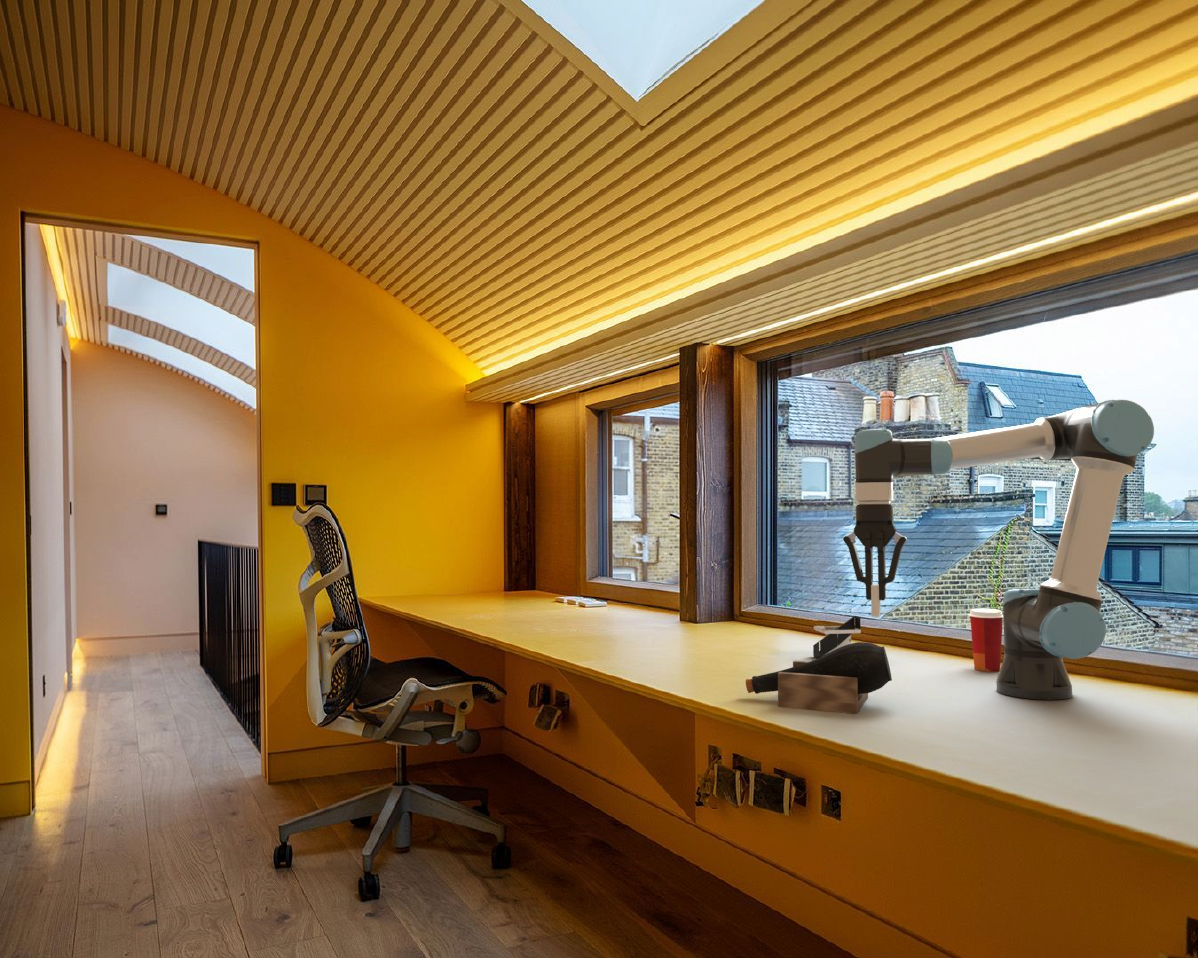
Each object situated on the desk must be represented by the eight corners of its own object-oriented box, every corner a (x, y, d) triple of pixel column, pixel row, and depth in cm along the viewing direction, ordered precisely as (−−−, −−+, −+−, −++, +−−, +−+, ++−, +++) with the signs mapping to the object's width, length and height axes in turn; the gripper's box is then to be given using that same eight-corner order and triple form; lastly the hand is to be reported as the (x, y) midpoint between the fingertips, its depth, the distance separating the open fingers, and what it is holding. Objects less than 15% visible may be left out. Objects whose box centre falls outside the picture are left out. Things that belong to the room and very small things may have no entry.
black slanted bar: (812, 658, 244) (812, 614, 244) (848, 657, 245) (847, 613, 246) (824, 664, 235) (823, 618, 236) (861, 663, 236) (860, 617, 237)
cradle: (868, 697, 193) (867, 665, 193) (856, 713, 178) (856, 678, 178) (794, 691, 199) (794, 660, 199) (778, 706, 185) (777, 673, 185)
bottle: (879, 635, 180) (737, 660, 190) (891, 688, 177) (746, 710, 187) (883, 640, 190) (748, 663, 200) (895, 690, 187) (757, 711, 196)
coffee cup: (1007, 668, 225) (1006, 609, 225) (1002, 673, 218) (1001, 612, 218) (972, 665, 230) (971, 607, 230) (966, 670, 223) (965, 610, 223)
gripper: (908, 502, 186) (910, 615, 185) (845, 503, 191) (847, 612, 191) (905, 503, 179) (907, 619, 178) (839, 503, 185) (841, 616, 184)
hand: (876, 615), depth 185 cm, fingers closed
